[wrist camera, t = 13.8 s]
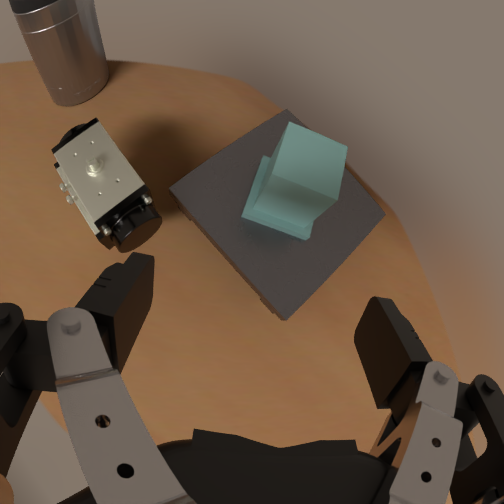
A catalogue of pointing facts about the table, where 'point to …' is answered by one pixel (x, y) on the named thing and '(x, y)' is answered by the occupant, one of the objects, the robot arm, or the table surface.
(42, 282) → the table surface
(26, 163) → the table surface
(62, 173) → the pneumatic valve
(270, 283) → the stand
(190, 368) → the table surface
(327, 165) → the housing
